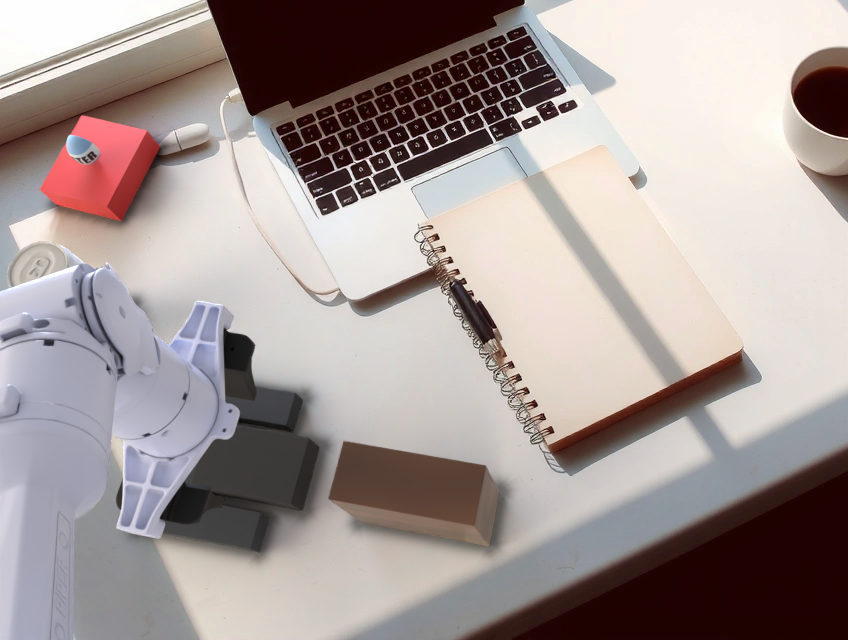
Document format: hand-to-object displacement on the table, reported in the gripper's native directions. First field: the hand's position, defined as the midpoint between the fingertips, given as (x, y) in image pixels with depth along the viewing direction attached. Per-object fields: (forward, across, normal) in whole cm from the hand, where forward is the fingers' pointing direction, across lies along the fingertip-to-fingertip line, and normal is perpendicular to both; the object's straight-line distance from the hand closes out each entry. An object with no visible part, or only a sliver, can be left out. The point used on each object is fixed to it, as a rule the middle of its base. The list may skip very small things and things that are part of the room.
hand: (226, 446), depth 65 cm
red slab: (+8, +24, +22) cm, 34 cm away
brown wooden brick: (+8, 0, -14) cm, 16 cm away
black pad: (+8, 0, 0) cm, 8 cm away
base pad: (+8, 0, +3) cm, 9 cm away
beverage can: (+8, +10, +16) cm, 21 cm away
